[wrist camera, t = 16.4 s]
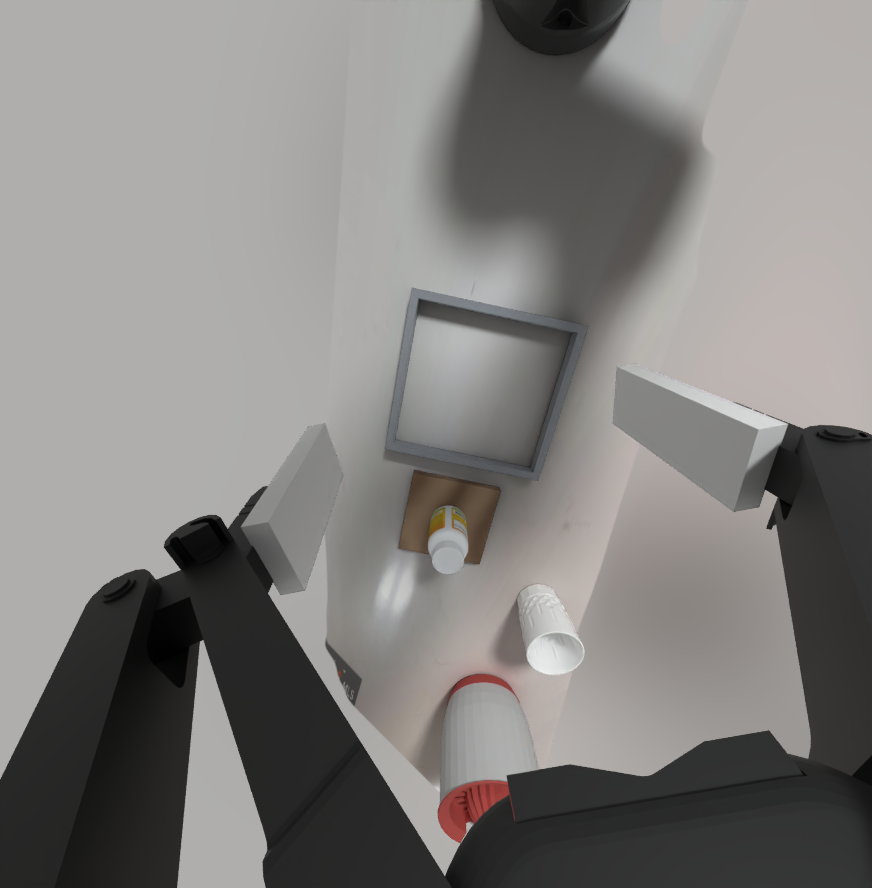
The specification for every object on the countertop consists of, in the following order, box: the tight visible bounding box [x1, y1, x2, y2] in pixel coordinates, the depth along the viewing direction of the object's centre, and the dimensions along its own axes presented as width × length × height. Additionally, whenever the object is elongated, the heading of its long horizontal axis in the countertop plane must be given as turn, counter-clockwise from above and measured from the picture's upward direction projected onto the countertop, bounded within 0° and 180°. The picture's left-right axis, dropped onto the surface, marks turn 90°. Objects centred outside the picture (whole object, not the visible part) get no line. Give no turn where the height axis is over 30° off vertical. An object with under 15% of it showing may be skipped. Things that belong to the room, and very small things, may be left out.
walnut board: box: [399, 470, 501, 564], centre depth 51 cm, size 13×13×1 cm
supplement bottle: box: [428, 506, 468, 574], centre depth 45 cm, size 5×5×10 cm
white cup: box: [517, 584, 584, 675], centre depth 50 cm, size 8×8×10 cm
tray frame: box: [385, 288, 588, 481], centre depth 44 cm, size 22×21×2 cm
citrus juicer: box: [438, 674, 539, 843], centre depth 53 cm, size 16×17×20 cm
